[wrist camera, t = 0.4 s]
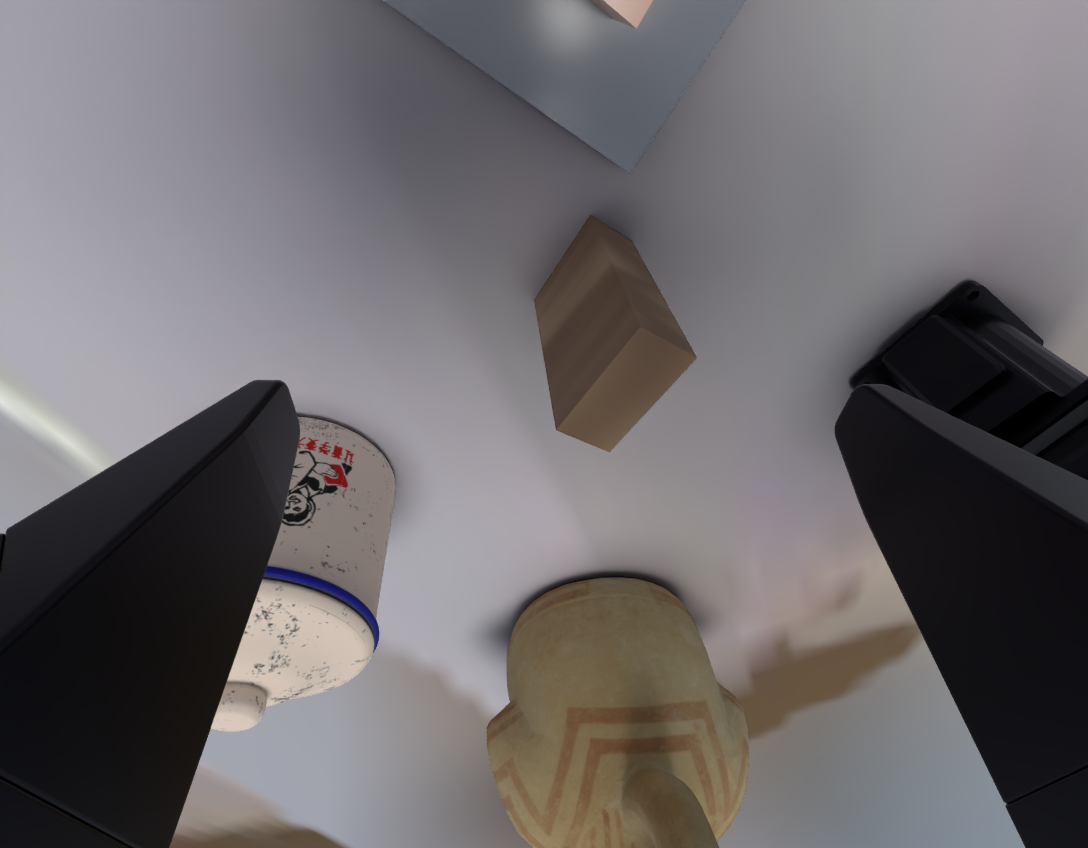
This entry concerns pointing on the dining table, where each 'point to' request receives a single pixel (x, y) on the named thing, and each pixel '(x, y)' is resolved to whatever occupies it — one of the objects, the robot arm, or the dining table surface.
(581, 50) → the slate board
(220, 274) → the dining table surface
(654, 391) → the beveled wooden wedge block
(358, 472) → the teacup with lid
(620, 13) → the open square box
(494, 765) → the ceramic vessel
